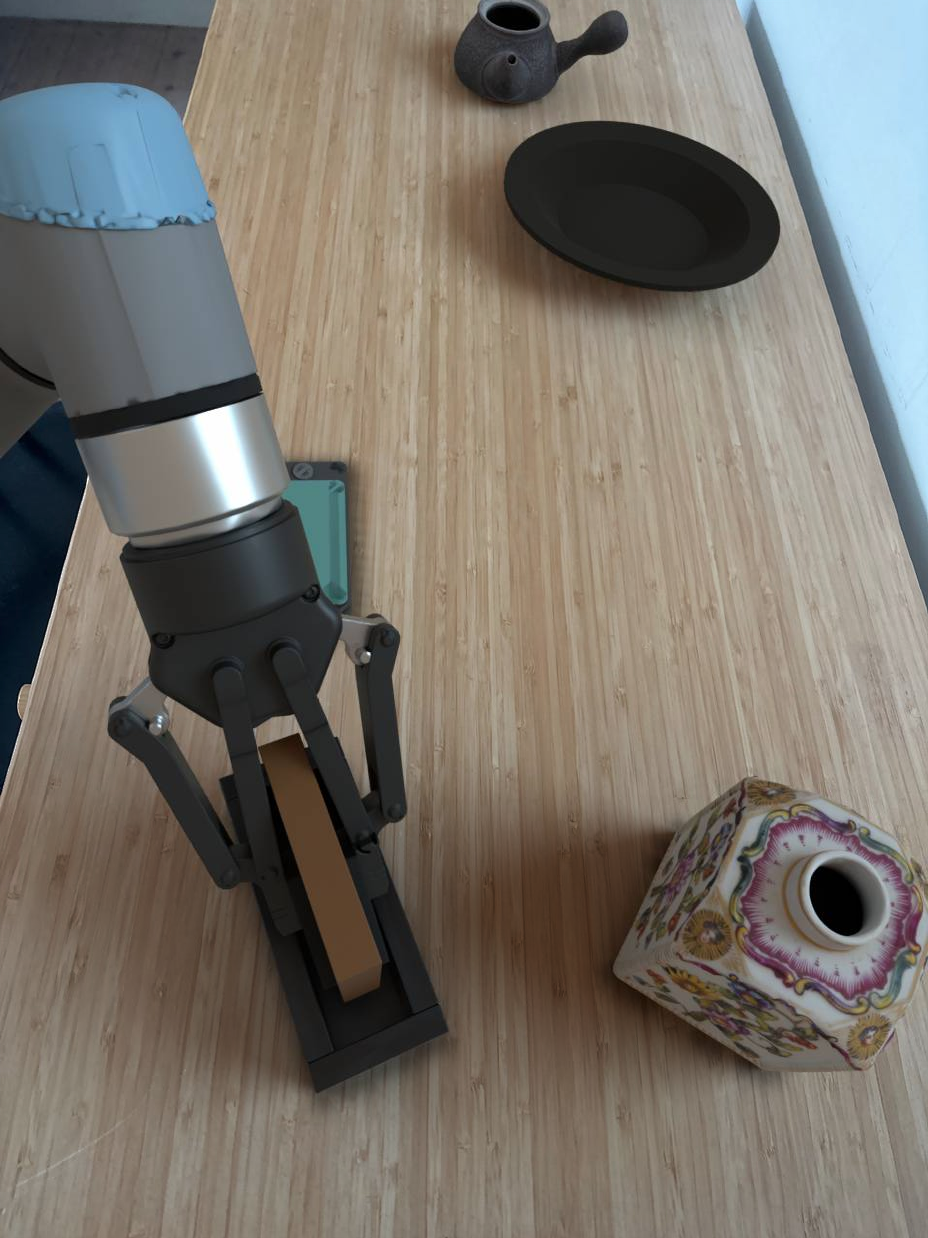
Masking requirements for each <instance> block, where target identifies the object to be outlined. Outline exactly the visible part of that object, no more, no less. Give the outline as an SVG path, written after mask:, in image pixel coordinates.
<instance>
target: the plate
mask: <svg viewBox="0 0 928 1238" xmlns="http://www.w3.org/2000/svg"><path fill="white" fill-rule="evenodd" d="M502 182H503V193H504V198H505V201H506V203H507V206H508V208H509V210H510V212H511V214H512V215H513V217H514V218H515V220H516V221H517V223H518V224H519V225H520V227H521V228H522V229H523V230H524V231H525V232H526V233H527V235H529V236H530V237H531V238H532V239H533V240H534V241H535V242H536V243H538V244H539V245H540V246H542V247H543V248H544V249H545V250H546V251H549V252H550V253H551V254H552V255H554V256H555V257H557V258H559V259H561V260H562V261H564V262H566V263H567V264H569V265H572V266H574V267H575V268H578V269H579V270H582V271H583V272H586V273H589V274H590V275H594V276H596V277H599V278H602V279H605V280H607V281H611V282H614V283H616V284H621V285H625V286H629V287H634V288H638V289H643V290H648V291H649V290H650V291H657V292H659V291H660V292H671V293H694V292H696V293H697V292H705V291H712V290H717V289H721V288H727V287H730V286H733V285H736V284H738V283H741V282H742V281H746V280H748V279H749V278H751V277H752V276H754V275H755V274H757V273H758V272H759V271H761V270H762V269H763V268H764V267H765V266H766V265H767V264H768V263H769V261H770V260H771V258H772V257H773V255H774V253H775V250H776V248H777V247H778V244H779V241H780V236H781V220H780V217H779V212H778V210H777V208H776V205H775V203H774V202H773V199H772V198H771V197H770V195H769V193H768V192H767V191H766V189H765V188H764V187H763V186H762V185H761V183H759V181H758V180H757V179H756V178H755V177H754V176H752V174H751V173H749V172H748V171H747V170H746V169H745V168H743V167H742V166H741V165H739V164H738V163H737V162H736V161H734V160H732V159H731V158H729V156H727V155H725V154H723V153H721V152H720V151H718V150H716V149H714V148H713V147H710V146H708V145H706V144H704V143H702V142H700V141H697V140H695V139H693V138H691V137H688V136H684V135H683V134H680V133H676V132H673V131H670V130H666V129H662V128H659V127H655V126H650V125H646V124H641V123H635V122H627V121H616V120H584V121H574V122H568V123H563V124H562V123H561V124H558V125H554V126H551V127H549V128H545V129H543V130H540V131H538V132H536V133H534V134H533V135H530V136H529V137H528V138H526V139H525V140H523V141H522V142H521V143H520V144H519V145H518V146H517V147H515V149H514V150H513V151H512V153H511V154H510V156H509V158H508V160H507V161H506V166H505V169H504V175H503V181H502Z"/></svg>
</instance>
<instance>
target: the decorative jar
mask: <svg viewBox="0 0 928 1238" xmlns="http://www.w3.org/2000/svg"><path fill="white" fill-rule="evenodd" d="M927 963H928V877H927V875H926V873H925V872H924V868H923V865H922V864H920V863H919V862H918V861H917V860H916V859H915V857H914V856H912V855H911V854H910V853H909V852H908V851H907V850H906V848H905V847H904V846H903V844H902V842H901V841H900V839H899V838H897V836H895V835H894V834H893V833H891V832H890V831H889V830H886V829H885V828H883V827H882V826H879V825H878V824H876V823H874V822H873V821H871V820H869V819H868V818H866V817H865V816H863V815H861V814H860V813H858V812H857V811H856V810H854V809H852V808H851V807H848V806H847V805H844V804H842V803H840V802H837V801H835V800H833V799H831V798H829V797H826V796H824V795H822V794H818V793H815V792H811V791H809V790H803V789H798V788H795V787H791V786H789V785H786V784H783V783H779V782H775V781H770V780H765V779H762V778H761V777H759V776H758V775H752V776H751V775H750V776H746V777H743V778H742V779H741V780H740V781H739V782H737V783H735V784H734V785H733V786H732V787H731V788H729V789H728V790H726V791H725V792H723V793H722V794H721V795H720V796H718V797H717V798H715V799H714V800H713V801H711V802H710V803H708V804H707V805H705V807H703V808H701V810H699V811H698V812H697V813H695V814H693V816H692V817H690V818H689V819H688V820H686V822H685V823H684V824H683V825H681V826H680V827H679V828H678V829H677V830H676V832H675V834H674V836H673V838H672V839H671V841H670V844H669V846H668V847H667V850H666V852H665V854H664V856H663V857H662V859H661V862H660V863H659V866H658V869H657V870H656V872H655V874H654V877H653V879H652V880H651V883H650V885H649V888H648V890H647V892H646V895H645V896H644V898H643V900H642V903H641V905H640V908H639V909H638V911H637V914H636V916H635V918H634V921H633V922H632V926H631V927H630V929H629V931H628V934H627V935H626V937H625V939H624V941H623V943H622V946H621V948H620V950H619V953H618V954H617V956H616V958H615V960H614V963H613V966H612V972H613V974H614V975H615V977H616V978H617V979H618V980H621V981H622V982H624V983H625V984H627V985H628V986H630V987H631V988H633V989H635V990H636V991H638V992H639V993H641V994H642V995H644V996H646V997H647V998H649V999H651V1000H652V1001H653V1002H655V1003H656V1004H658V1005H659V1006H661V1007H662V1008H664V1009H666V1010H668V1011H670V1012H672V1013H673V1014H674V1015H676V1016H677V1017H679V1018H680V1019H682V1020H683V1021H685V1022H686V1023H688V1024H689V1025H692V1027H695V1028H696V1029H697V1030H699V1031H701V1032H702V1033H704V1034H705V1035H708V1036H709V1037H710V1038H712V1039H713V1040H715V1041H716V1042H718V1043H720V1044H721V1045H723V1046H725V1047H726V1048H728V1049H730V1050H731V1051H733V1052H735V1053H736V1054H738V1055H739V1056H741V1057H742V1058H744V1059H745V1060H746V1061H749V1062H751V1063H752V1064H753V1065H755V1066H756V1067H758V1068H759V1069H761V1070H763V1071H766V1072H768V1071H769V1072H777V1073H778V1072H783V1073H832V1072H835V1073H836V1072H837V1073H838V1072H840V1073H841V1072H844V1073H845V1072H866V1071H868V1070H870V1069H871V1068H872V1067H873V1065H874V1063H875V1062H876V1061H875V1060H876V1058H877V1057H878V1056H879V1055H880V1054H881V1053H882V1052H883V1051H884V1049H885V1048H886V1047H887V1045H888V1044H890V1042H891V1040H892V1039H893V1038H894V1036H895V1031H896V1026H897V1025H898V1023H899V1021H900V1020H901V1019H902V1018H903V1017H904V1016H905V1014H906V1013H907V1010H908V1008H909V1007H910V1006H911V1004H912V1003H913V1001H914V998H915V995H916V991H917V990H918V989H917V988H918V987H919V985H920V983H921V981H922V979H923V975H924V972H925V968H926V966H927Z"/></svg>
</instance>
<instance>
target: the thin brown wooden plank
mask: <svg viewBox="0 0 928 1238" xmlns="http://www.w3.org/2000/svg"><path fill="white" fill-rule="evenodd" d="M305 748H306V747H305V745H304V741H303V739H302V736H301V733H300V732H295V733H293V734H290V735H287V736H284V737H282V738H279V739H276V740H273V741H271V742H268V743H265V744H262V745H259V746H257V749H258V754H259V755H260V756H259V757H260V759H261V761H262V763H263V764H264V767H265V770H266V773H267V776H268V779H269V782H270V785H271V788H272V791H273V794H274V797H275V800H276V803H277V806H278V809H279V812H280V815H281V818H282V821H283V824H284V827H285V830H286V833H287V836H288V839H289V842H290V845H291V848H292V851H293V854H294V856H295V859H296V862H297V865H298V868H299V871H300V874H301V877H302V880H303V883H304V886H305V889H306V892H307V895H308V898H309V901H310V904H311V907H312V910H313V913H314V916H315V919H316V922H317V925H318V928H319V931H320V934H321V937H322V940H323V943H324V946H325V949H326V952H327V954H328V957H329V960H330V963H331V966H332V969H333V972H334V975H335V978H336V981H337V984H338V987H339V989H340V992H341V995H342V997H343V1000H344V1002H347V1001H350V1000H352V999H354V998H356V997H359V996H361V995H363V994H365V993H368V992H370V991H372V990H374V989H377V988H379V987H380V977H381V967H382V960H381V958H380V955H379V952H378V949H377V947H376V944H375V941H374V938H373V936H372V933H371V930H370V927H369V924H368V922H367V919H366V916H365V913H364V911H363V908H362V905H361V902H360V899H359V897H358V894H357V891H356V888H355V886H354V883H353V880H352V877H351V875H350V872H349V869H348V866H347V863H346V861H345V858H344V855H343V852H342V850H341V847H340V844H339V841H338V838H337V836H336V833H335V830H334V827H333V825H332V822H331V819H330V816H329V814H328V811H327V808H326V805H325V802H324V800H323V797H322V794H321V791H320V789H319V786H318V783H317V780H316V778H315V775H314V772H313V769H312V766H311V764H310V761H309V758H308V755H307V753H306V750H305Z"/></svg>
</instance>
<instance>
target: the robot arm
mask: <svg viewBox="0 0 928 1238" xmlns="http://www.w3.org/2000/svg"><path fill="white" fill-rule="evenodd" d="M188 137H189V136H188V135H187V132H186V129H185V126H184V123H183V121H182V119H181V117H180V115H179V113H178V111H177V110H176V109H175V108H174V107H173V105H172V104H171V102H169V101H168V100H167V99H166V98H165V97H163V96H161V95H160V94H158V93H157V92H155V91H153V90H151V89H148V88H145V87H142V86H137V85H134V84H129V83H121V82H120V83H117V82H77V83H67V84H60V85H54V86H53V85H52V86H48V87H42V88H38V89H34V90H29V91H25V92H22V93H18V94H15V95H12V96H10V97H6V98H4V99H1V100H0V460H1V459H2V458H3V457H4V456H5V455H6V454H7V453H8V451H9V450H10V449H11V448H12V447H13V446H15V444H16V443H17V442H18V441H19V440H20V439H21V438H22V437H23V436H24V435H25V434H26V432H27V431H28V430H29V429H30V428H31V427H32V426H33V425H34V424H36V422H37V421H38V420H39V419H40V418H41V417H42V416H43V415H44V414H45V413H46V412H47V410H48V409H50V407H51V406H52V405H54V404H55V403H56V402H57V401H58V400H60V402H61V404H62V406H63V409H64V412H65V414H66V416H67V418H68V419H69V420H68V423H69V427H70V428H71V431H72V433H73V437H75V439H74V442H75V444H76V448H77V450H78V452H79V455H80V457H81V460H82V463H83V465H84V468H85V471H86V473H87V477H88V478H89V481H90V484H91V487H92V490H93V492H94V495H95V497H96V500H97V502H98V503H97V504H98V505H99V508H100V510H101V513H102V516H103V519H104V521H105V523H106V527H107V529H108V531H109V532H110V533H111V534H112V535H115V536H117V537H121V538H122V537H123V538H124V537H125V538H128V541H127V542H125V544H124V545H123V546H122V548H121V551H122V552H120V555H118V559H119V561H120V564H121V566H122V569H123V572H124V575H125V578H126V580H127V583H128V585H129V588H130V591H131V593H132V596H133V599H134V602H135V604H136V607H137V609H138V610H137V611H138V612H139V615H140V618H141V621H142V623H143V626H144V629H145V631H146V634H147V637H148V641H149V645H150V652H149V656H148V661H147V667H148V676H147V677H146V678H145V679H144V680H142V682H140V683H139V684H138V685H137V686H136V688H134V689H133V690H132V691H131V692H130V693H129V694H128V695H120V696H116V697H115V698H113V699H112V700H111V702H110V703H109V707H108V713H107V714H108V715H107V730H106V731H107V734H108V736H109V738H111V740H113V741H114V743H116V744H118V745H119V746H120V747H121V748H123V749H124V750H125V751H127V752H128V753H129V754H131V755H132V756H133V757H135V758H136V759H137V760H138V761H140V762H141V763H142V764H143V765H144V767H145V768H146V770H147V771H148V774H149V775H150V777H151V778H152V780H153V782H154V783H155V786H156V787H157V788H158V790H159V792H160V793H161V795H162V797H163V799H164V801H165V802H166V804H167V805H168V807H169V809H170V810H171V812H172V813H173V816H174V817H175V819H176V820H177V822H178V823H179V826H180V827H181V829H182V830H183V832H184V834H185V835H186V837H187V839H188V841H189V842H190V844H191V845H192V847H193V849H194V851H195V852H196V854H197V856H198V857H199V859H200V860H201V863H202V864H203V866H204V867H205V869H206V871H207V873H208V874H209V875H210V878H211V880H212V881H213V882H214V885H216V886H217V888H219V889H221V890H231V889H234V888H236V887H237V886H238V885H239V884H240V883H250V882H253V883H256V884H258V885H259V886H260V887H261V888H262V890H263V893H264V896H265V898H266V901H267V904H268V907H269V910H270V912H271V915H272V918H273V921H274V923H275V926H276V929H277V930H278V931H279V932H280V933H281V934H282V935H283V936H286V935H288V934H291V933H293V932H296V931H298V930H300V929H303V931H304V934H305V937H306V939H307V942H308V945H309V948H310V951H311V954H312V957H313V960H314V963H315V965H316V968H317V971H318V974H319V977H320V980H321V983H322V986H323V988H324V990H326V989H328V988H331V987H333V986H335V985H338V984H337V981H336V978H335V975H334V972H333V969H332V966H331V963H330V960H329V957H328V954H327V952H326V949H325V946H324V943H323V940H322V937H321V934H320V931H319V928H318V925H317V922H316V919H315V916H314V913H313V910H312V907H311V904H310V901H309V898H308V895H307V892H306V889H305V886H304V883H303V880H302V877H301V874H300V871H299V868H298V865H297V862H296V859H295V856H294V854H293V851H292V848H291V849H289V850H286V851H284V852H281V853H280V851H279V847H278V842H277V838H276V833H275V828H274V824H273V819H272V815H271V810H270V806H269V801H268V796H267V792H266V787H265V783H264V778H263V774H262V769H261V761H260V756H259V755H260V754H259V750H258V744H257V739H256V735H255V731H254V729H256V728H258V727H260V726H261V725H263V724H264V723H266V722H267V721H269V720H271V719H272V718H278V717H279V718H280V717H289V716H290V717H291V716H294V717H295V720H296V722H297V724H298V726H299V728H300V731H301V734H302V735H303V738H304V740H305V742H306V744H307V747H309V749H310V751H311V754H312V756H313V758H314V760H315V763H316V765H317V767H318V769H319V771H320V774H321V776H322V778H323V780H324V783H325V785H326V787H327V789H328V792H329V794H330V796H331V798H332V801H333V803H334V805H335V807H336V810H337V812H338V814H339V816H340V819H341V821H342V823H343V826H344V828H342V829H340V830H337V831H335V833H336V836H337V838H338V841H339V844H340V847H341V850H342V852H343V855H344V858H345V861H346V863H347V866H348V869H349V872H350V875H351V877H352V880H353V883H354V886H355V888H356V891H357V894H358V897H359V899H360V902H361V905H362V908H363V911H364V913H365V916H366V919H367V922H368V924H369V927H370V930H371V933H372V936H373V938H374V941H375V944H376V947H377V949H378V952H379V955H380V958H381V960H382V965H383V964H385V963H387V962H390V961H389V958H388V955H387V951H386V948H385V945H384V942H383V938H382V935H381V932H380V929H379V926H378V922H377V919H376V916H375V913H374V909H373V906H372V903H371V899H373V898H376V897H378V896H380V895H383V894H385V893H387V892H388V887H389V881H388V878H387V874H386V871H385V867H384V864H383V861H382V857H381V854H380V851H379V846H380V845H381V844H380V838H379V837H378V836H379V834H380V832H381V831H382V830H383V829H384V828H385V827H387V826H388V825H389V824H397V823H399V822H402V821H403V820H404V819H405V817H406V816H407V814H408V803H407V797H406V795H407V794H406V786H405V777H404V770H403V761H402V753H401V743H400V735H399V727H398V726H399V725H398V717H397V709H396V708H397V707H396V699H395V691H394V681H393V674H394V670H395V664H396V661H397V656H398V653H399V648H400V645H401V634H400V632H399V630H397V629H396V627H395V626H394V625H393V623H391V622H390V621H389V620H388V619H387V618H385V617H384V616H383V614H381V613H378V612H377V613H374V612H373V613H370V614H368V615H367V616H366V617H364V616H363V617H362V616H356V615H352V616H351V615H345V614H341V613H340V611H339V610H338V608H337V607H336V606H335V605H334V604H333V602H332V601H331V600H330V599H328V598H327V597H326V595H325V594H324V592H323V590H322V588H321V585H320V582H319V579H318V575H317V572H316V568H315V565H314V561H313V558H312V555H311V551H310V548H309V544H308V541H307V537H306V534H305V530H304V527H303V523H302V520H301V517H300V513H299V510H298V507H297V506H295V505H292V503H291V502H290V501H288V500H285V499H282V496H280V495H282V494H283V492H284V491H285V490H286V489H287V487H288V485H289V484H290V478H289V474H288V471H287V468H286V464H285V462H286V461H285V457H284V455H283V452H282V447H281V445H280V441H279V438H278V434H277V430H276V428H275V425H274V421H273V417H272V415H271V414H272V413H271V411H270V408H269V404H268V401H267V398H266V395H265V391H264V389H263V386H262V383H261V379H260V376H259V375H258V373H259V369H258V367H257V364H256V360H255V356H254V352H253V349H252V345H251V342H250V338H249V335H248V331H247V327H246V323H245V319H244V317H243V313H242V309H241V306H240V302H239V299H238V295H237V291H236V288H235V285H234V282H233V281H234V280H233V278H232V274H231V271H230V266H229V263H228V260H227V256H226V253H225V249H224V246H223V242H222V238H221V234H220V230H219V227H218V224H217V223H218V222H217V220H216V217H217V213H218V212H217V208H216V205H215V202H214V201H212V200H211V199H210V196H209V193H208V191H207V188H206V184H205V183H204V180H203V179H204V178H203V177H202V174H201V171H200V169H199V165H198V163H197V159H196V157H195V155H194V152H193V149H192V145H191V142H190V140H189V138H188ZM339 640H340V641H342V642H343V643H344V652H345V655H346V656H347V657H348V658H349V660H350V661H351V663H352V664H353V665H354V674H355V682H356V689H357V698H358V705H359V713H360V721H361V722H360V723H361V729H362V736H363V737H362V738H363V743H364V745H363V746H364V752H365V760H366V761H365V762H366V766H367V776H368V783H369V789H370V792H368V793H367V794H366V795H364V796H363V797H361V798H360V796H361V795H360V796H359V794H360V792H359V793H358V791H359V790H358V791H357V789H356V786H357V785H356V786H355V784H354V782H353V780H352V777H351V775H350V773H349V770H348V768H347V766H346V763H345V761H344V759H343V756H342V754H341V752H340V749H339V747H338V745H337V742H336V740H335V738H334V737H335V735H334V733H333V731H332V728H331V726H330V723H329V720H328V718H327V715H326V714H325V711H324V709H323V707H322V706H323V705H322V704H321V702H320V700H319V697H318V694H319V692H320V691H321V689H322V686H323V683H324V680H325V678H326V675H327V673H328V670H329V667H330V665H331V662H332V659H333V656H334V654H335V652H336V649H337V645H338V643H339ZM167 698H170V699H171V700H173V701H174V702H176V703H178V704H179V705H181V706H183V707H184V708H186V709H187V710H189V711H191V712H193V713H194V714H196V715H197V716H199V717H200V718H202V719H203V720H205V721H207V722H209V723H210V724H212V725H214V726H216V727H217V728H220V729H222V731H223V735H224V740H225V744H226V748H227V753H228V757H229V762H230V765H231V770H232V774H233V775H234V779H235V783H236V788H237V792H238V796H239V801H240V805H241V809H242V814H243V818H244V822H245V827H246V831H247V835H248V840H249V844H238V843H234V841H233V839H232V838H231V836H230V834H229V832H228V831H227V829H226V828H225V825H224V823H223V822H222V820H221V818H220V817H219V815H218V813H217V811H216V810H215V808H214V806H213V804H212V802H211V800H210V799H209V798H208V796H207V794H206V791H205V790H204V788H203V787H202V785H201V783H200V782H199V780H198V778H197V776H196V775H195V773H194V771H193V769H192V768H191V766H190V764H189V763H188V760H187V759H186V757H185V756H184V754H183V752H182V750H181V748H180V746H179V745H178V743H177V742H176V740H175V738H174V736H173V735H172V733H171V732H170V730H169V729H170V727H171V726H170V725H171V723H170V722H171V718H170V712H169V710H168V708H167V706H166V705H165V700H166V699H167Z"/></svg>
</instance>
